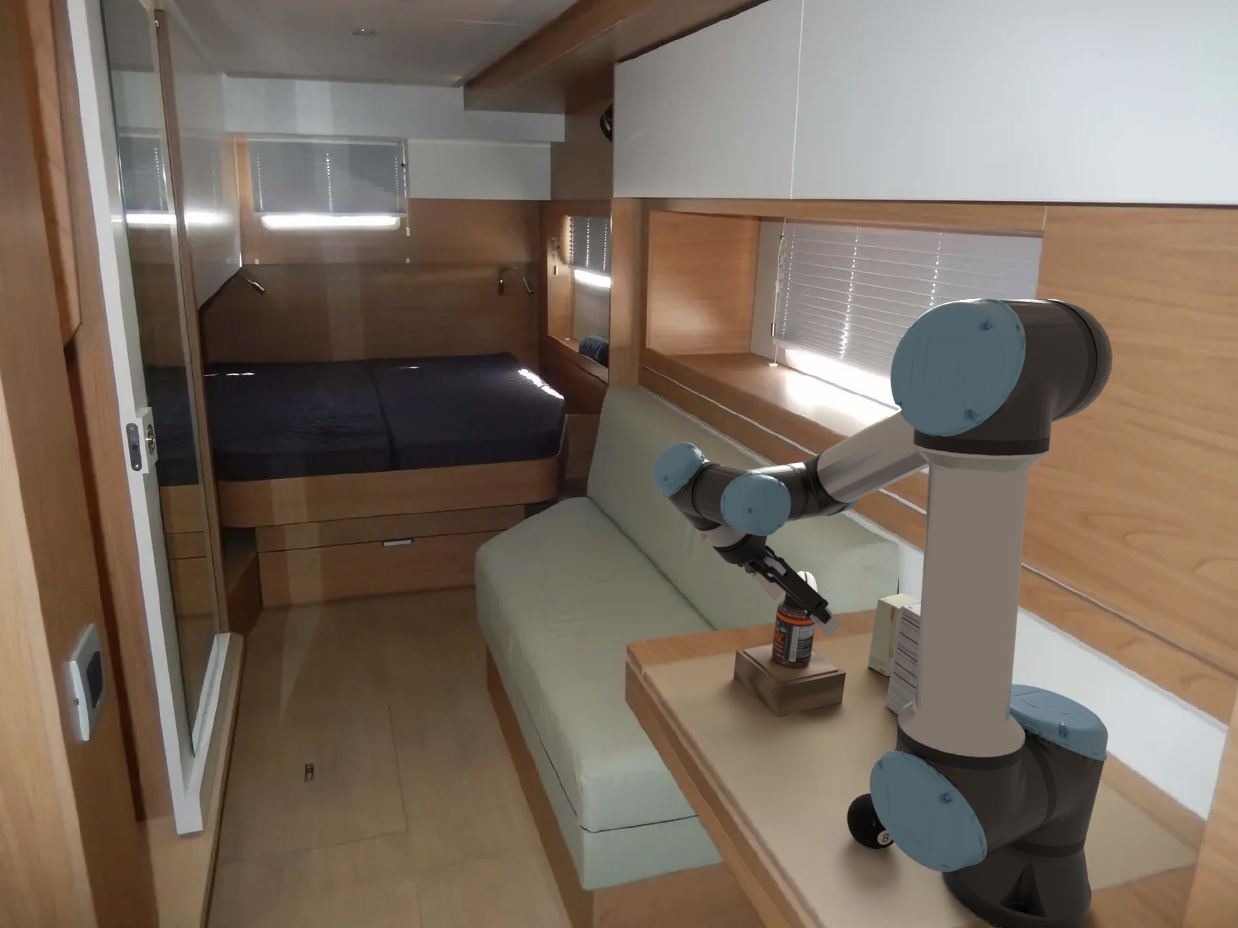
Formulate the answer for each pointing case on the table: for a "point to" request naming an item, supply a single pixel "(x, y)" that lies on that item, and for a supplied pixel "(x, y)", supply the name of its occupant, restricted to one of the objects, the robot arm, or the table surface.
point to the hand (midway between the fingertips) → (805, 611)
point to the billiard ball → (867, 824)
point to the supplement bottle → (792, 634)
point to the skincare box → (887, 631)
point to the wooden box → (788, 681)
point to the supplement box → (905, 659)
